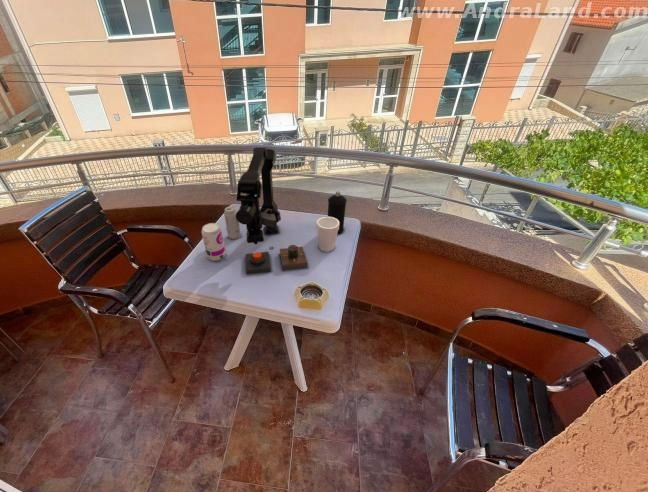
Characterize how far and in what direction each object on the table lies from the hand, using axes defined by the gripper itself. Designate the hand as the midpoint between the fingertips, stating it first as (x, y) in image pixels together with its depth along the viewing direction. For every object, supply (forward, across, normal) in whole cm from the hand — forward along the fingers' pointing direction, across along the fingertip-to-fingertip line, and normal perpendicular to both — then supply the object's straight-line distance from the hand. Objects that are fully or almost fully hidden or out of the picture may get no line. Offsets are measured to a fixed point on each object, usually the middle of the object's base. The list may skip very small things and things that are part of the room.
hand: (256, 243), depth 129 cm
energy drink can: (+11, +23, +10) cm, 27 cm away
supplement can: (+11, +9, +18) cm, 23 cm away
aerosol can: (+11, +20, -38) cm, 44 cm away
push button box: (+11, 0, 0) cm, 11 cm away
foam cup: (+11, +7, -31) cm, 34 cm away
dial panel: (+11, 0, -15) cm, 19 cm away
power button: (+7, 0, 0) cm, 7 cm away
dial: (+8, 0, -15) cm, 17 cm away
